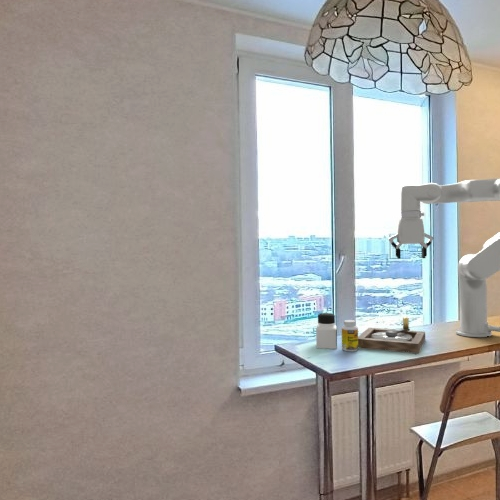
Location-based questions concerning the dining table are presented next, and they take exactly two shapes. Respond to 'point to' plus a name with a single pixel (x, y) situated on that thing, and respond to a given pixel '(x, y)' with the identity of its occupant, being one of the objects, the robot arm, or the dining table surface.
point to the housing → (391, 341)
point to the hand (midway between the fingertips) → (411, 258)
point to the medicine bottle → (326, 331)
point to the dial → (395, 333)
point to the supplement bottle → (349, 336)
